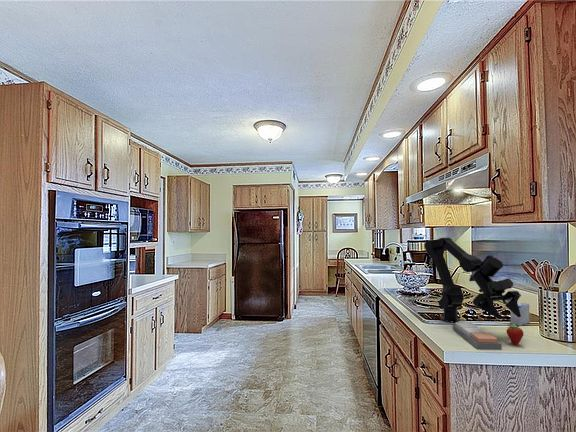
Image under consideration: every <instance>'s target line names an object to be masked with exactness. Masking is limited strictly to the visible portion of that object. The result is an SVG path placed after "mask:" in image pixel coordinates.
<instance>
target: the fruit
mask: <svg viewBox="0 0 576 432" xmlns="http://www.w3.org/2000/svg"><path fill="white" fill-rule="evenodd" d="M507 326H508V327H506V328H507V329H506V331H505V333H506V334H507V336H508V338H509V341H510V343H512V344H513V345H514V346H516V345H519V344H520V343H521V341H522V339H523V337H524V335H525V334H524V331H523V329H522V328H520V327H521V326H519V325H518V324H517V325H515V323H513V324H511V322H509V324H507Z"/></svg>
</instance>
